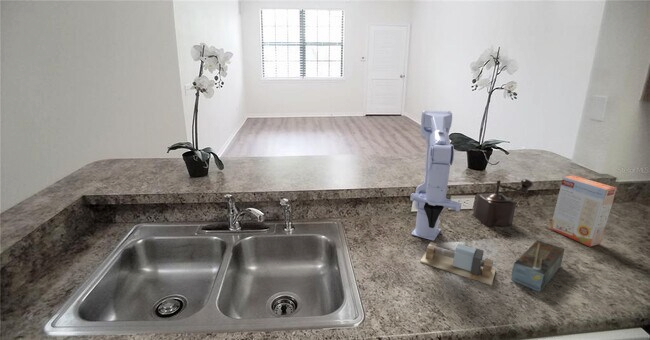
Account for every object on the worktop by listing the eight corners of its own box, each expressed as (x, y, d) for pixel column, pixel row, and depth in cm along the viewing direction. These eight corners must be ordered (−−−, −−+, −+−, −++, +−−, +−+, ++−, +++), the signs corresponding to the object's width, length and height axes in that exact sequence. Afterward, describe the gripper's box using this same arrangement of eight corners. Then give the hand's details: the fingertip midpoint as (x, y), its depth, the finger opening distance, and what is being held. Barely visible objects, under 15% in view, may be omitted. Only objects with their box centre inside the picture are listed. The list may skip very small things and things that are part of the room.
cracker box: (601, 244, 114) (618, 187, 108) (589, 247, 112) (606, 189, 106) (560, 226, 126) (573, 174, 120) (549, 229, 124) (562, 176, 118)
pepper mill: (487, 227, 125) (495, 182, 119) (472, 214, 135) (479, 172, 130) (526, 226, 126) (536, 181, 121) (508, 213, 137) (516, 172, 131)
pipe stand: (420, 262, 102) (421, 249, 101) (427, 250, 109) (429, 238, 107) (491, 285, 92) (494, 271, 91) (495, 270, 98) (498, 257, 97)
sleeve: (452, 265, 99) (455, 249, 97) (456, 258, 102) (458, 242, 101) (470, 271, 96) (473, 254, 94) (473, 263, 100) (476, 247, 98)
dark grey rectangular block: (470, 273, 96) (473, 256, 94) (473, 264, 100) (476, 248, 99) (477, 275, 95) (480, 259, 93) (480, 266, 99) (483, 250, 98)
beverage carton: (508, 279, 95) (513, 259, 93) (532, 256, 107) (536, 237, 105) (540, 294, 89) (545, 272, 87) (561, 267, 101) (566, 247, 99)
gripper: (408, 183, 99) (404, 225, 103) (460, 194, 91) (453, 238, 95) (416, 177, 104) (412, 217, 108) (465, 186, 97) (458, 229, 101)
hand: (431, 226), depth 102 cm, fingers closed
